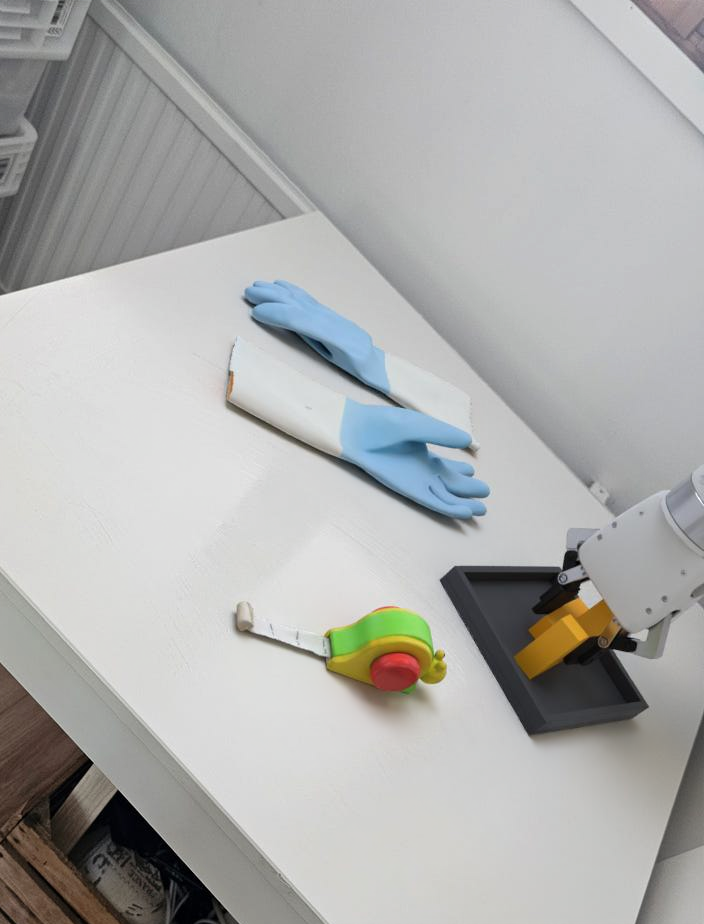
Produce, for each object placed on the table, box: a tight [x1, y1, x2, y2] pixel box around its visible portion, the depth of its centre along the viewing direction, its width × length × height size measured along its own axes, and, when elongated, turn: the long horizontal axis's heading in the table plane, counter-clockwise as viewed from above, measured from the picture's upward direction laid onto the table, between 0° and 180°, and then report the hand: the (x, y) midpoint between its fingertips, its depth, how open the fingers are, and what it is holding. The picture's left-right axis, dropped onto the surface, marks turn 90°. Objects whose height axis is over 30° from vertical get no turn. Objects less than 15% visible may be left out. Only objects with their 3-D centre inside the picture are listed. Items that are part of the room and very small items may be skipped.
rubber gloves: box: [226, 279, 491, 520], centre depth 112 cm, size 27×33×6 cm
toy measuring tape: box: [236, 601, 448, 694], centre depth 84 cm, size 6×20×7 cm, turn 91°
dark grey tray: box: [439, 565, 650, 736], centre depth 102 cm, size 18×18×2 cm
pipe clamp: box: [514, 597, 614, 679], centre depth 101 cm, size 12×4×6 cm, turn 129°
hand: (557, 635), depth 101 cm, fingers closed on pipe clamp, 5 cm apart
